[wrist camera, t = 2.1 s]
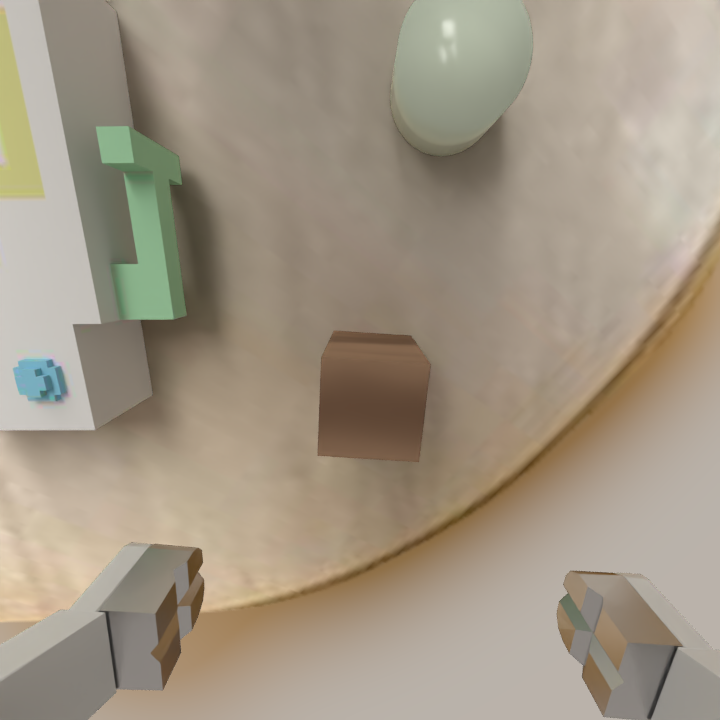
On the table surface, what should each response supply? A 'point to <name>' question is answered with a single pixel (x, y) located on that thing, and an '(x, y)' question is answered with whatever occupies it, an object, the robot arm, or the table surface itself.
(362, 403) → the walnut block
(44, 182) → the decorative block
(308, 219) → the table surface
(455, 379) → the table surface
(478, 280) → the table surface
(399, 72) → the sage rounded block
